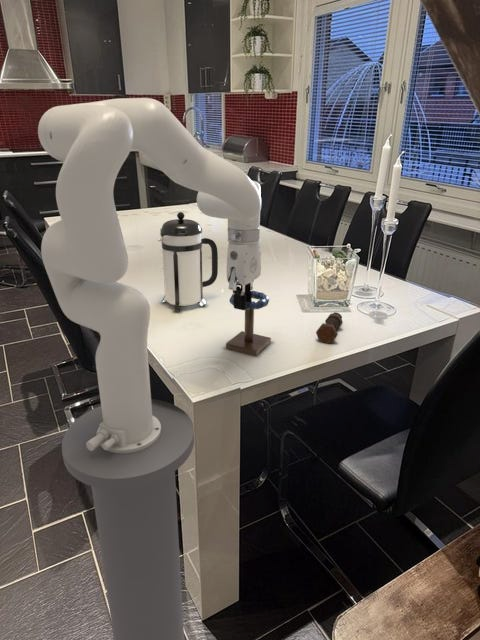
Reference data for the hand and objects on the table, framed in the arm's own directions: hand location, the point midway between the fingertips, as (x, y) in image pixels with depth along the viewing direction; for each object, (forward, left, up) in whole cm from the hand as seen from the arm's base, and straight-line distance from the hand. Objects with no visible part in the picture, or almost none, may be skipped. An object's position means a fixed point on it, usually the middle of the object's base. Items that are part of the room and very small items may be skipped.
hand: (242, 306), depth 117 cm
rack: (+4, 0, -13) cm, 13 cm away
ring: (+4, 0, +1) cm, 4 cm away
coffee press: (+22, +32, -13) cm, 41 cm away
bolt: (+23, -17, -13) cm, 31 cm away
